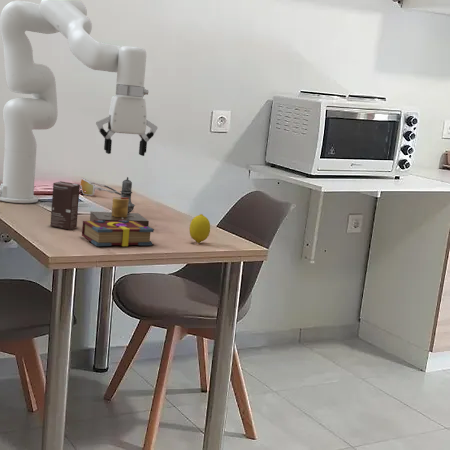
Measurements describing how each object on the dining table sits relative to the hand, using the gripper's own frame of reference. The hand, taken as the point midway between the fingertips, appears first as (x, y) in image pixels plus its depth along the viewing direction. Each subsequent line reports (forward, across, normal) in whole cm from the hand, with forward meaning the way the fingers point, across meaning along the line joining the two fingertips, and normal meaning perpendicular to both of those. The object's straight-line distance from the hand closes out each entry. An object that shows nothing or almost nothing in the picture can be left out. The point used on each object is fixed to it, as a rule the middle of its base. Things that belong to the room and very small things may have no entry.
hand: (125, 154), depth 209 cm
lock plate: (+20, +1, +2) cm, 20 cm away
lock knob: (+17, +1, +2) cm, 17 cm away
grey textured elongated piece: (+20, -5, -14) cm, 25 cm away
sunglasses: (+20, -8, -53) cm, 57 cm away
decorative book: (+21, +6, +21) cm, 30 cm away
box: (+20, +17, +5) cm, 27 cm away
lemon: (+21, -16, +21) cm, 33 cm away
